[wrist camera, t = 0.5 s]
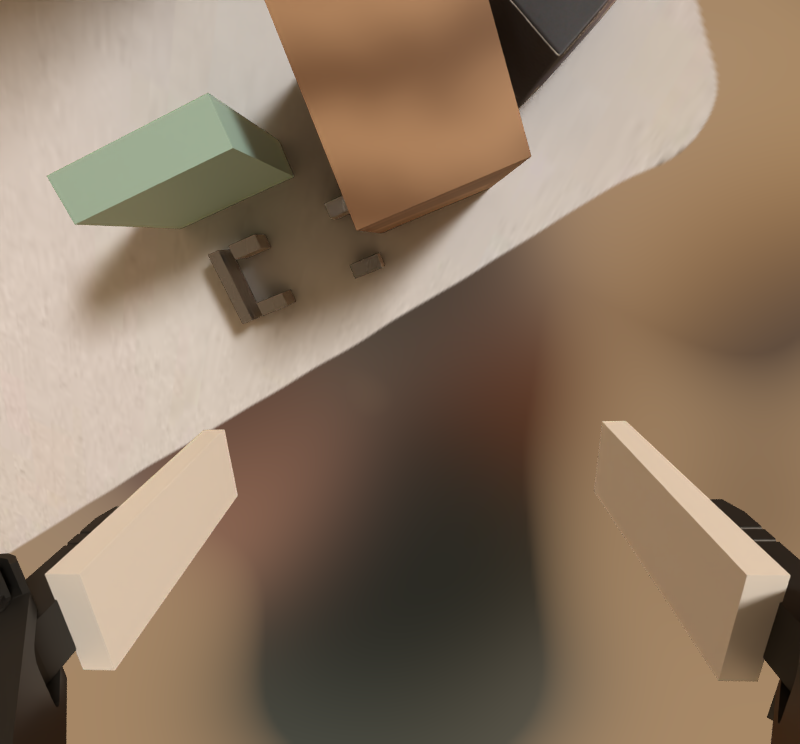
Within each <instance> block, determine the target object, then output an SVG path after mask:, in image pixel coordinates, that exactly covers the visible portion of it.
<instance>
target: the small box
mask: <svg viewBox="0 0 800 744" xmlns="http://www.w3.org/2000/svg"><path fill="white" fill-rule="evenodd" d="M615 1H616V0H489V3H490V7H491V11H492V14H493V18H494V22H495V25H496V29H497V33H498V36H499V40H500V44H501V47H502V51H503V55H504V58H505V62H506V66H507V69H508V73H509V77H510V80H511V84H512V88H513V91H514V95H515V99H516V102H517V106H518V108H519V107H520V106H521V105H522V104H523V103H524V102H525V101H526V100H527V99H528V98H529V97H530V96H531V95H533V93H534V92H535V91H536V90H537V89H538V88H539V87H540V86H541V85H542V84H543V83H544V82H545V81H546V80H547V79H548V78H549V77H550V75H551V74H552V73H553V72H554V71H555V70H556V69H557V68H558V67H559V66H560V64H561V63H562V62H563V61H564V60H565V59H566V58H567V57H568V55H569V54H570V53H571V52H572V51H573V50H574V49H575V48H576V46H577V45H578V44H579V43H580V42H581V41H582V40H583V39H584V38H585V36H586V35H587V34H588V33H589V32H590V31H591V30H592V28H593V27H594V26H595V25H596V24H597V23H598V22H599V21H600V19H601V18H602V17H603V16H604V15H605V13H606V12H607V11H608V10H609V9H610V7H611V6H612V5H613V4H614V3H615Z"/></svg>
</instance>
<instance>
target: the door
mask: <svg viewBox="0 0 800 744" xmlns="http://www.w3.org/2000/svg"><path fill="white" fill-rule="evenodd" d="M47 177H48V179H49V181H50V182H51V184H52V186H53V188H54V189H55V191H56V193H57V195H58V196H59V198H60V200H61V201H62V203H63V205H64V207H65V208H66V210H67V212H68V214H69V215H70V217H71V219H72V220H73V222H74V224H75V225H100V226H126V227H151V228H177V229H181V228H183V227H186V226H188V225H190V224H192V223H194V222H197V221H199V220H201V219H203V218H205V217H207V216H210V215H212V214H214V213H216V212H218V211H220V210H223V209H225V208H227V207H229V206H231V205H234V204H236V203H238V202H240V201H242V200H244V199H247V198H249V197H251V196H253V195H255V194H258V193H260V192H262V191H264V190H266V189H268V188H271V187H273V186H275V185H277V184H279V183H281V182H284V181H286V180H288V179H290V178H292V177H294V175H293V173H292V170H291V168H290V166H289V163H288V161H287V159H286V156H285V154H284V152H283V149H282V147H281V145H280V142H279V140H277V139H276V138H275V137H273V136H272V135H270V134H269V133H267V132H266V131H264V130H263V129H261V128H260V127H258V126H257V125H255V124H254V123H252V122H251V121H249V120H248V119H246V118H245V117H243V116H242V115H240V114H239V113H237V112H236V111H234V110H233V109H231V108H230V107H228V106H227V105H225V104H224V103H222V102H221V101H219V100H218V99H216V98H215V97H213V96H212V95H210V94H209V93H207V94H205V95H203V96H201V97H199V98H197V99H195V100H193V101H191V102H189V103H187V104H186V105H184V106H182V107H180V108H178V109H176V110H174V111H172V112H170V113H168V114H166V115H164V116H162V117H160V118H158V119H156V120H154V121H153V122H151V123H149V124H147V125H145V126H143V127H141V128H139V129H137V130H135V131H133V132H131V133H129V134H127V135H125V136H123V137H121V138H119V139H118V140H116V141H114V142H112V143H110V144H108V145H106V146H104V147H102V148H100V149H98V150H96V151H94V152H92V153H90V154H88V155H86V156H85V157H83V158H81V159H79V160H77V161H75V162H73V163H71V164H69V165H67V166H65V167H63V168H61V169H59V170H57V171H55V172H53V173H51V174H50V175H48V176H47Z"/></svg>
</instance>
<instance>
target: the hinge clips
mask: <svg viewBox="0 0 800 744" xmlns="http://www.w3.org/2000/svg"><path fill="white" fill-rule="evenodd" d="M324 204H325V207H326V209H327V212H328V214H329V216H330V218H332V219H339V218H341V217H343V216H346V215H348V214H350V213H349V210H348V208H347V205H346V203H345V200H344V198H343V195H342V196H340V197H338V198H336V199H333V200H331V201H329V202H327V203H324ZM229 248H230V250H218V251H216V252H213V253H211V254H209V255H208V256H209V258H210V260H211V262H212V264H213V266H214V268H215V270H216V272H217V274H218V276H219V278H220V280H221V282H222V284H223V286H224V288H225V290H226V292H227V294H228V296H229V298H230V300H231V302H232V304H233V306H234V308H235V310H236V312H237V314H238V316H239V318H240V320H241V322H242V324H244V323H246V322H249V321H251V320H254V319H256V318H258V317H260V316H262V315H263V316H264V315H266V314H269V313H271V312H274V311H276V310H279V309H281V308H284V307H286V306H288V305H290V304H292V303H294V302H296V300H295V298H294V296H293V294H292V292H291V290H288V291H285V292H283V293H280V294H278V295H275V296H273V297H271V298H268V299H266V300H263V301H261V302H258V303H257V302H256V300H255V298H254V296H253V294H252V292H251V290H250V288H249V286H248V284H247V282H246V280H245V278H244V275H243V273H242V271H241V269H240V267H239V265H238V263H237V261H236V259H243V258H248V257H251V256H253V255H255V254H258V253H260V252H262V251H265V250H267V249H269V248H271V246H270V244H269V242H268V240H267V237H266V235H259V234H254V235H252V236H250V237H247V238H245V239H243V240H241V241H238V242H236V243H234V244H231V245H229ZM384 266H385V265H384V262H383V260H382V257H381V254H380V253H378V254H375V255H373V256H370V257H368V258H366V259H363V260H361V261H358V262H356V263H353V264H351V265H350V267H351V270H352V272H353V275H354V277H355V278H358V277H360V276H363V275H365V274H368V273H370V272H373V271H375V270H378V269H380V268H382V267H384Z"/></svg>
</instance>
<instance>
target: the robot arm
mask: <svg viewBox="0 0 800 744" xmlns="http://www.w3.org/2000/svg"><path fill="white" fill-rule="evenodd" d="M594 492H595V493H596V495H597V497H598V498H599V499H600V501H601V503H602V504H603V506H604V507H605V509H606V510H607V512H608V513H609V515H610V516H611V518H612V519H613V521H614V522H615V524H616V525H617V527H618V528H619V530H620V531H621V533H622V535H623V536H624V538H625V539H626V540H627V542H628V544H629V545H630V547H631V548H632V550H633V551H634V553H635V554H636V556H637V557H638V559H639V560H640V562H641V563H642V565H643V567H644V568H645V569H646V571H647V573H648V574H649V576H650V577H651V579H652V580H653V582H654V583H655V585H656V586H657V588H658V589H659V591H660V592H661V594H662V595H663V597H664V598H665V600H666V601H667V603H668V605H669V606H670V608H671V609H672V611H673V612H674V614H675V615H676V617H677V618H678V620H679V621H680V623H681V624H682V626H683V627H684V629H685V630H686V632H687V633H688V635H689V637H690V638H691V640H692V641H693V643H694V644H695V646H696V647H697V649H698V650H699V652H700V653H701V655H702V656H703V658H704V659H705V661H706V662H707V664H708V665H709V667H710V668H711V670H712V671H713V673H714V675H715V676H716V678H717V679H718V680H719V681H758V678H759V675H760V672H761V668H762V665H763V662H764V659H765V661H766V662H767V663H768V664H769V666H770V667H771V668H772V669H773V671H774V672H775V673H776V674H777V676H778V677H779V678H780V680H779V683H778V686H777V690H776V692H775V695H774V698H773V701H772V704H771V707H770V710H769V713H768V716H767V718H769V719H771V720H773V728H772V738H771V744H800V560H799V559H798V558H797V557H796V556H795V555H794V554H792V553H791V552H790V551H789V550H788V549H787V548H785V547H784V546H783V545H782V544H781V543H780V542H776V540H775V538H774V537H773V536H772V535H771V534H769V533H768V532H767V531H766V530H765V529H762V528H761V526H760V525H759V524H758V523H757V522H755V520H753V519H752V518H751V517H750V516H749V515H748V514H747V513H745V512H744V511H742V510H740V509H739V508H737V507H735V506H733V505H731V504H730V503H727V502H726V501H724V500H722V499H718V500H717V499H716V500H715V499H712V500H710V499H709V498H707V497H706V496H705V495H704V494H703V493H702V492H701V491H700V490H699V489H698V488H697V487H695V485H693V483H691V482H690V481H689V480H688V479H687V478H686V477H685V476H684V475H683V474H682V473H681V472H680V471H679V470H678V469H677V468H675V467H674V466H673V465H672V464H671V463H670V462H669V461H668V460H667V459H666V458H665V457H664V456H663V455H662V454H660V453H659V452H658V451H657V450H656V449H655V448H654V447H653V446H652V445H651V444H650V443H649V442H648V441H647V440H646V439H645V438H643V437H642V436H641V435H640V434H639V433H638V432H637V431H636V430H635V429H634V428H633V427H632V426H631V425H629V423H627V422H626V421H603V422H602V429H601V437H600V445H599V455H598V462H597V471H596V481H595V489H594ZM237 496H238V495H237V490H236V485H235V480H234V475H233V471H232V465H231V460H230V455H229V451H228V445H227V440H226V436H225V431H224V430H203V431H202V432H201V433H200V434H199V435H198V436H197V437H195V438H194V439H193V440H192V441H191V442H190V443H189V444H188V445H187V446H186V447H184V448H183V449H182V450H181V451H180V452H179V453H178V454H177V455H176V456H174V457H173V458H172V459H171V460H170V461H169V462H168V463H167V464H166V465H165V466H164V467H162V468H161V469H160V470H159V471H158V472H157V473H156V474H155V475H154V476H152V477H151V478H150V479H149V480H148V481H147V482H146V483H145V484H144V485H143V486H142V487H140V488H139V489H138V490H137V491H136V492H135V493H134V494H133V495H132V496H131V497H129V498H128V499H127V500H126V501H125V502H124V503H123V504H122V505H120V506H119V507H114V508H112V509H111V510H109V511H107V512H105V513H104V514H102V515H100V516H99V517H97V518H95V520H93V521H92V522H91V523H90V524H89V525H87V527H85V528H84V529H83V530H82V531H81V532H80V534H77V535H76V536H75V537H74V538H73V539H71V540H70V541H69V542H68V545H67V546H63V547H62V548H61V549H60V550H59V551H58V552H57V553H55V554H54V555H53V556H52V557H51V558H50V559H49V560H48V561H46V562H45V563H44V564H43V565H42V566H41V567H40V568H38V569H37V570H36V571H35V572H34V573H33V574H32V575H30V576H29V577H28V578H27V579H26V580H25V577H24V575H23V573H22V570H21V568H20V566H19V563H18V561H17V559H16V556H14V555H11V554H8V553H7V554H0V744H66V715H67V713H66V711H67V710H66V709H67V705H66V704H67V677H66V675H65V672H64V669H63V667H62V666H63V665H64V664H65V663H66V661H67V660H68V659H69V658H70V656H71V655H72V654H73V653H74V652H75V651H76V653H77V656H78V658H79V660H80V663H81V665H82V668H83V670H115V669H116V668H117V667H118V665H119V664H120V663H121V661H122V660H123V658H124V657H125V655H126V654H127V653H128V651H129V650H130V648H131V647H132V645H133V644H134V643H135V641H136V640H137V638H138V637H139V635H140V634H141V633H142V631H143V630H144V628H145V627H146V625H147V624H148V623H149V621H150V620H151V618H152V617H153V615H154V614H155V613H156V611H157V610H158V608H159V607H160V606H161V604H162V603H163V601H164V600H165V598H166V597H167V595H168V594H169V593H170V591H171V590H172V588H173V587H174V585H175V584H176V583H177V581H178V580H179V578H180V577H181V576H182V574H183V573H184V571H185V570H186V568H187V567H188V566H189V564H190V563H191V561H192V560H193V558H194V557H195V556H196V554H197V553H198V551H199V550H200V548H201V547H202V546H203V544H204V543H205V541H206V540H207V538H208V537H209V536H210V534H211V533H212V531H213V530H214V528H215V527H216V526H217V524H218V523H219V521H220V520H221V518H222V517H223V516H224V514H225V513H226V511H227V510H228V508H229V507H230V505H231V504H232V503H233V501H234V500H235V498H236V497H237Z"/></svg>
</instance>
